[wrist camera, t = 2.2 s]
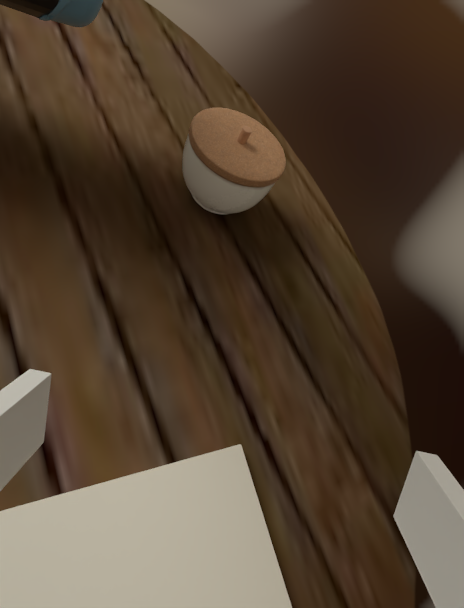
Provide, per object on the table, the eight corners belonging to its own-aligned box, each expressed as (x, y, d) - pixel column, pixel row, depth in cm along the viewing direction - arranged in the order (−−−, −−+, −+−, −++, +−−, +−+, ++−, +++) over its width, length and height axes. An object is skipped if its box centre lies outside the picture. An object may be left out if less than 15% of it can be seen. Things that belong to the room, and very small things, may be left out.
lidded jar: (266, 232, 49) (308, 174, 42) (180, 228, 44) (210, 160, 37) (242, 167, 54) (276, 104, 47) (162, 156, 49) (186, 83, 42)
